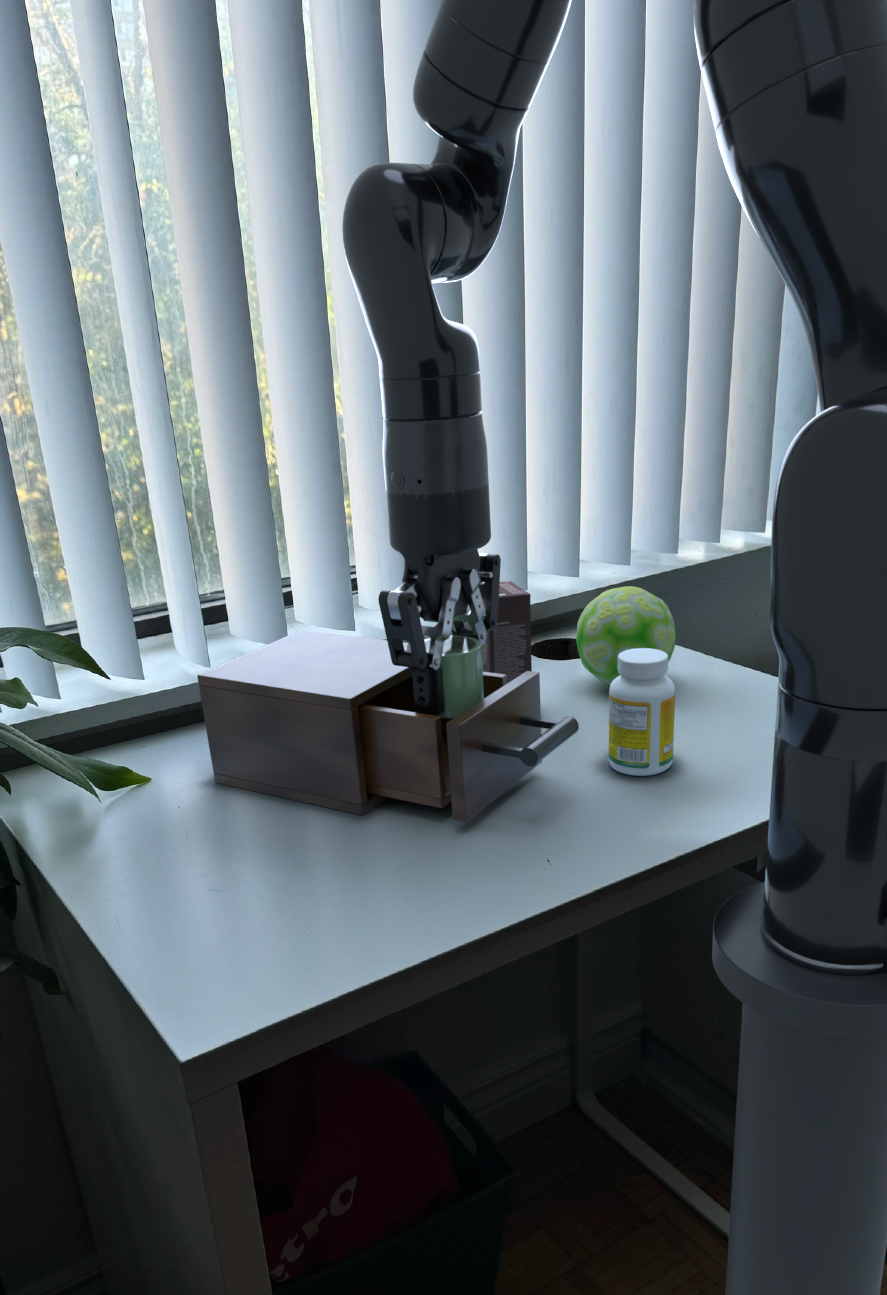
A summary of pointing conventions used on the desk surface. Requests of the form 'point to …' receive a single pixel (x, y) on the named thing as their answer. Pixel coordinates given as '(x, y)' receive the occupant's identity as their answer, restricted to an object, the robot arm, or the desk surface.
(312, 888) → the desk surface
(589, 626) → the decorative ball
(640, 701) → the supplement bottle
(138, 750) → the desk surface
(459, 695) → the pot
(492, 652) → the box
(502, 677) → the drawer
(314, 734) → the cabinet
